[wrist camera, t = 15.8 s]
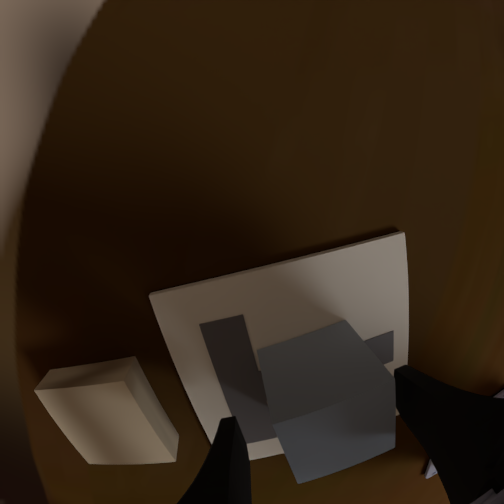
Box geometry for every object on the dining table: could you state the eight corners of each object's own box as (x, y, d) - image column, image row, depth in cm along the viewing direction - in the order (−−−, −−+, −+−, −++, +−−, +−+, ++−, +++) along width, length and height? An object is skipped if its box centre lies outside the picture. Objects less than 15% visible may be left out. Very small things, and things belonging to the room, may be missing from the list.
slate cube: (345, 319, 14) (395, 378, 9) (356, 385, 15) (394, 447, 10) (256, 350, 14) (272, 424, 9) (279, 412, 15) (298, 483, 10)
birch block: (136, 352, 14) (123, 380, 12) (179, 431, 16) (175, 461, 13) (52, 366, 14) (34, 390, 12) (99, 437, 15) (89, 463, 13)
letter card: (400, 231, 14) (405, 232, 13) (400, 409, 16) (403, 413, 16) (150, 292, 13) (148, 296, 13) (222, 460, 16) (222, 465, 15)
